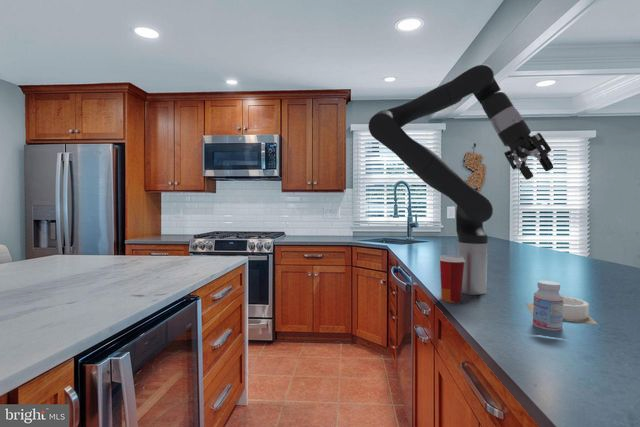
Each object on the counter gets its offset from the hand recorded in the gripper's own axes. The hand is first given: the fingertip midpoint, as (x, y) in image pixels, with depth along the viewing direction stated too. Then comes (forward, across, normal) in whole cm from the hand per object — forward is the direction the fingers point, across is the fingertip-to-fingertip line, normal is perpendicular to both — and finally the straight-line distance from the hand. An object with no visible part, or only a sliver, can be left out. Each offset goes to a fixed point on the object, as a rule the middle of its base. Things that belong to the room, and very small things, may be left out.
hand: (539, 174), depth 99 cm
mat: (+36, -4, -15) cm, 39 cm away
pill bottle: (+34, +6, -25) cm, 42 cm away
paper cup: (+23, -18, -35) cm, 45 cm away
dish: (+36, -3, -14) cm, 39 cm away
